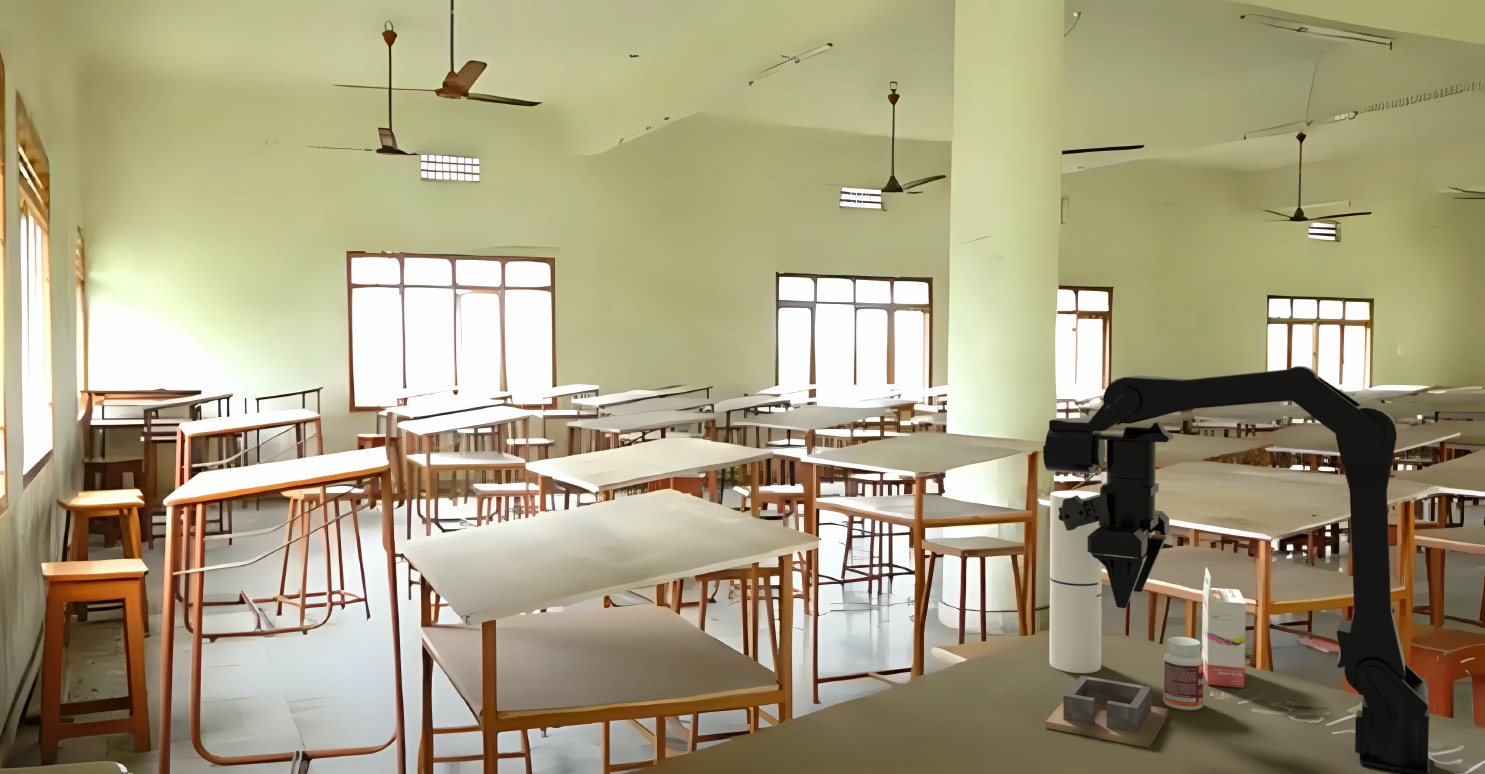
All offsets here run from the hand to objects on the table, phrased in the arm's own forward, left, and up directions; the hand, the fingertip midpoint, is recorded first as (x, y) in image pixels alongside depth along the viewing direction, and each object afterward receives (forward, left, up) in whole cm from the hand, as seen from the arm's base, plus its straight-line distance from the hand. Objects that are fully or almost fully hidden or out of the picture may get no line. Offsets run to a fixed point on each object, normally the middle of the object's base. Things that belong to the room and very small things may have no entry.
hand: (1129, 599), depth 128 cm
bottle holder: (+2, +4, -15) cm, 15 cm away
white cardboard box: (-8, -21, -15) cm, 27 cm away
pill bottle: (-5, -7, -15) cm, 17 cm away
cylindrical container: (+11, -16, -15) cm, 24 cm away
